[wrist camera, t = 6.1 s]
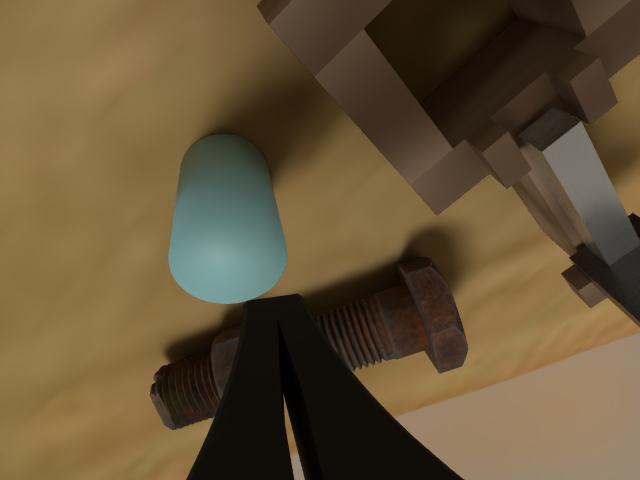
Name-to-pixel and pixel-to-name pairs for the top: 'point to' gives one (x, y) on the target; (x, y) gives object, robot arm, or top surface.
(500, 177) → the mount
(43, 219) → the top surface
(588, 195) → the lock bar
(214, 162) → the dowel
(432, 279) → the bolt
